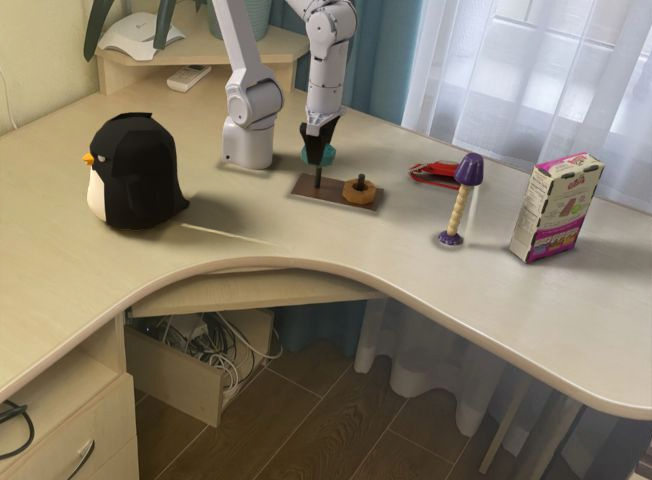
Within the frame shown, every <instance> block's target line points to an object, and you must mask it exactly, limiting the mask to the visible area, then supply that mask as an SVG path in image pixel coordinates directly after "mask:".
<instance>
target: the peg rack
mask: <svg viewBox="0 0 652 480" xmlns="http://www.w3.org/2000/svg"><path fill="white" fill-rule="evenodd" d="M322 173H323V167H316V166H315V170H314V174H310V173H306V172H301V173H300V175H299V177H298V178H297V181H296V182H295V184H294V186H293V188H292V189H291V192H290V194H291V195H295V196H296V195H297V196H301V197H305V198H310V199H315V200H320V201H325V202H329V203H335V204H339V205H344V206H350V207H354V208H359V209H364V210H368V211H371V212H376V211H377V209H378V207H379V204H380V201H381V198H382V196H383V195H384V191H385V189H384V188H380V187H377V188H376V194H375V197H374V200H373V202H369V203H366V204H357V203H353V202H349V201H348V200H347V199H346V198H345V197H344V196H343V187H344V185H345V183H346V181H347V180H340V179H335V178H331V177H326V176H322ZM357 178H358V182H357V189H356V191H361V192H362V191H363V187H364V181H365V180H366V175H365V174H364V173H359V174H358V177H357Z"/></svg>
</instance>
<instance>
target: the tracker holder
mask: <svg viewBox="0 0 652 480" xmlns="http://www.w3.org/2000/svg"><path fill="white" fill-rule="evenodd" d="M459 164H460V163H458V162H455V161H450V160H437V161H434V162H431V163H429V162H424V163H415V164H414V165H411V166H410V167H408V168H407V170H408V171H407V173H408V174H410V176H411V179H413V180H414V181H416V182H418V183H425V184H429V185H434V186H438V187H443V188H447V189H451V190H455V191H456V190H459V189H460V187H461V184H459V185H457V186H454V185H449V184H444V183H440V182H433V181H429V180H426V179H423V178H421V177H419V176H417V175H415V173H417V174H421V173H422V172H424V173H427V174H433V175H440V176H448V177H454V173H455V171H456V169H457V168H458V166H459Z"/></svg>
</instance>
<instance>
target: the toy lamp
mask: <svg viewBox="0 0 652 480" xmlns="http://www.w3.org/2000/svg"><path fill="white" fill-rule="evenodd" d="M484 161H485V160H484V157H483V156H482V155H481V154H480V153H476V152H468V153H465V155H464V156H463V158H462V160H461V161H460V163H458V164H459V166H458V168H457V169H456V171H455V173H454V176H453V177H454V180H455V181H456V182H457V183H459V185H461V187H460V189H458V194H457V196H456V201H455V203H454V205H453V210H452V212H451V217H450V219H449V221H448V226H447V228H446V229H445V230H443V231H441V232H440V233H439V234H438V236H437V239H438V241H439V242H440V243H442V244H444V245H447V246H458V245H460V244H461V243H462V237H461V236H460V234H459V233H458V227H459V226H460V224H461V219H462V218H463V214H464V213H463V212H464V211H465V209H466V203H467V202H468V196H469V195H470V192H471V188H472V187H477V186H479V185H481V184H482V183H483V181H484V171H485V162H484Z"/></svg>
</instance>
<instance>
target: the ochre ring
mask: <svg viewBox="0 0 652 480" xmlns="http://www.w3.org/2000/svg"><path fill="white" fill-rule="evenodd" d="M345 181H346V183H345V185H344V187H343V196H344V197H345V198H346V199H347V200H348V201H349V202H353V203H357V204H366V203H369V202H373V200H374V197H375V194H376V188H378V187H377V186H376V185H375V184H374V183H373V182H372V181H371V180H367V179H365V181H364V187H363V191H362V192H361V191H356V189H357V182H358V177H357V178H353V179H348V180H345Z"/></svg>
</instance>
